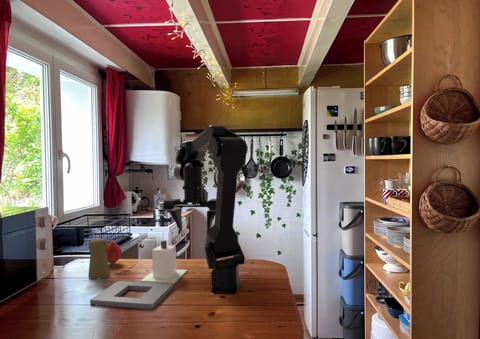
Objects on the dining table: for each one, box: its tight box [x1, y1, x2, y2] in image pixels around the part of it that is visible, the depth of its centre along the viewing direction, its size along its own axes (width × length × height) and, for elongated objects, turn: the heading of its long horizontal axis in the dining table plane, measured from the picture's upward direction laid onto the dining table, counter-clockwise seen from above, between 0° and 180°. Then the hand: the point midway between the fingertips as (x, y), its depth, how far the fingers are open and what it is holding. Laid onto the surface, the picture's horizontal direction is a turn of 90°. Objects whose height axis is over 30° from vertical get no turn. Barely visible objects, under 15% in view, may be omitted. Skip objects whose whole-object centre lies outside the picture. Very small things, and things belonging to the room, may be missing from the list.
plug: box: [151, 240, 177, 279], centre depth 97 cm, size 5×5×10 cm
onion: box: [106, 239, 123, 265], centre depth 109 cm, size 6×6×8 cm
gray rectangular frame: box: [89, 280, 174, 310], centre depth 84 cm, size 16×12×1 cm
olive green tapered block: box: [87, 237, 111, 280], centre depth 99 cm, size 6×6×11 cm
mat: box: [140, 268, 188, 285], centre depth 97 cm, size 10×10×1 cm
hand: (194, 231), depth 105 cm, fingers open, 9 cm apart
